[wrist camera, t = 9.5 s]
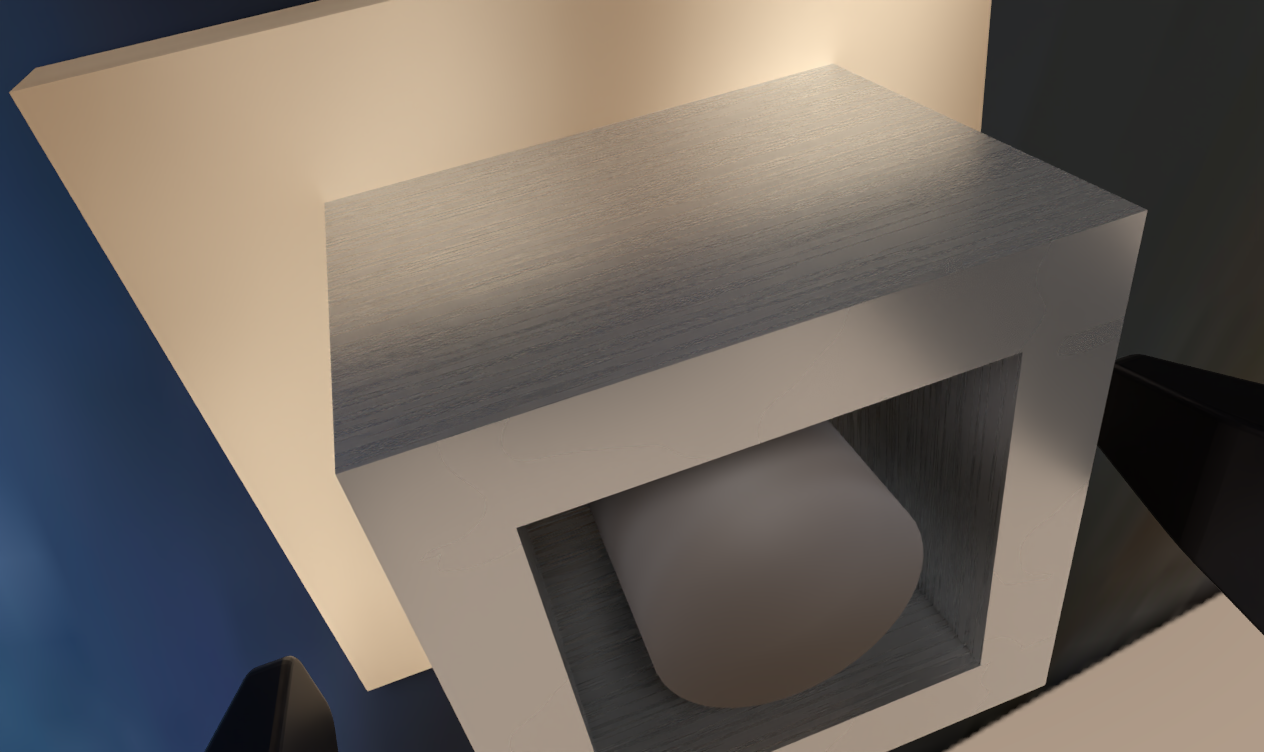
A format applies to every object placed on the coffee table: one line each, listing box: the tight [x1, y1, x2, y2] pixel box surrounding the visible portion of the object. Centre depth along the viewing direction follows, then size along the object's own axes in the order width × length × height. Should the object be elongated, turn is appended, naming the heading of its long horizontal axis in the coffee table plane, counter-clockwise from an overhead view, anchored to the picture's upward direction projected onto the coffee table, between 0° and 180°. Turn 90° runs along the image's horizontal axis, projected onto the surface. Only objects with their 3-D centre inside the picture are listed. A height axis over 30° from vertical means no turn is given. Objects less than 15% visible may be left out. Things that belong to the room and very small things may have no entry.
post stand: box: [9, 0, 991, 708], centre depth 10 cm, size 11×10×6 cm
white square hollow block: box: [324, 64, 1147, 752], centre depth 10 cm, size 6×6×5 cm
